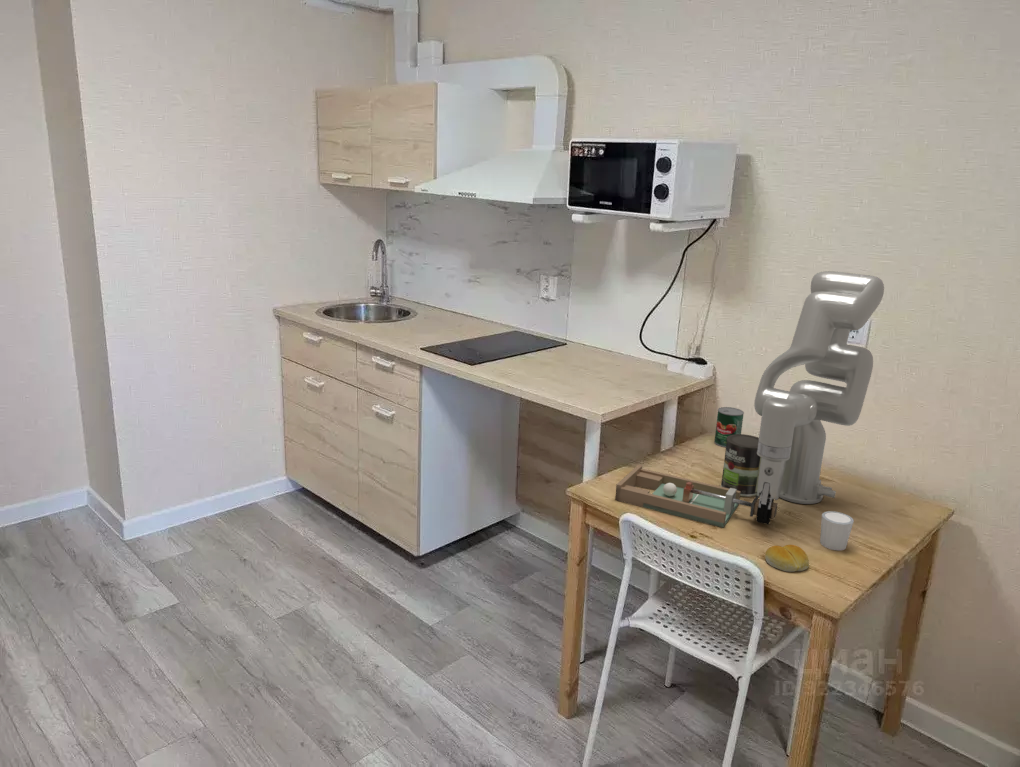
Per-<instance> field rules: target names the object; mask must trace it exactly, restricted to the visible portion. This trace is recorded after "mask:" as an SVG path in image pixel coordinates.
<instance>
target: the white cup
mask: <svg viewBox="0 0 1020 767" xmlns="http://www.w3.org/2000/svg"><path fill="white" fill-rule="evenodd" d="M854 522H855V521H854V518H853V517H852V516H850V515H848V514H845V513H843V512H840V511H835V510H830V511H829V510H828V511H825V512H822V514H821V523H820V539H819V541H820V542H819V543H820V544H821V545H822V547H824V548H826V549H829V550H831V551H844V550H846V549H847V545H848V543H849V542H848V541H849V538H850V535H851V531H852V528H853V525H854Z"/></svg>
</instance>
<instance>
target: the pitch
mask: <svg viewBox="0 0 1020 767" xmlns="http://www.w3.org/2000/svg"><path fill="white" fill-rule="evenodd" d="M687 482H693V483H692V485H694V489H696V490H701V491H705V492H709V493H713V494H718V495H722V496H725V501H724V500H720V499H715V498H711V497H707V496H703V495H699V494H695V493H693V498H692V499H691V500H690V501H689V502H685V501H682V500H683V491H684V488H685V487H686V483H687ZM667 483H673V484H674V485H675V486H676V488H677V492H676V494H675V495H674V496H667V495H665V494H664V492H663V487H664V485H665V484H667ZM643 488H644V489H643ZM650 490H651V491H652V490H653V492H652V493H650ZM740 493H741V491H737V489H734V488H730V489H729V488H724V487H721V485H715V484H710V483H707V482H704V481H703V482H702V481H698V480H694V479H690V478H685V477H680V476H677V475H672V474H667V473H663V472H659V471H654V470H650V469H645V468H643V465H641V464H637V465H636V466H635V467H634V468H633V469H632V470H631V471H629V472H628V473H627V474H626V475H625V476H624V477H623V478H622V479H621V480H620V481H618V482H617V483H616V485H615V496H614V497H615V499H614V501H617V502H621V503H625V504H628V505H632V506H633V505H634V506H636V507H641V508H644V509H648V510H652V511H657V512H660V513H663V514H664V513H665V514H668V515H670V516H671V515H673V516H676V517H680V518H684V519H687V520H691V521H695V522H699V523H703V524H707V525H711V526H715V527H719V528H721V529H722V528H723V529H724V528H725V526H726V525H727V523H728V521H729V520H730V519H731V517H732V515H733V514H734V513H735V511H736V509H737V508H738V506H739V505H740V504H736V503H732V502H733V498H734V499H739V500H741V499H740V498H741V496H740Z"/></svg>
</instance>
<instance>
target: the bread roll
mask: <svg viewBox="0 0 1020 767" xmlns="http://www.w3.org/2000/svg"><path fill="white" fill-rule="evenodd" d="M764 554H765V556H764V558H765V561H766V562H767V564H769V565H770V566H771V567H772V568H775V569H778V570H781V571H783V572H788V573H789V572H790V573H792V572H803V571H805V570H808V568H809V567H810V561H809V556H808V554H807V553H806V551H805V550H804V549H803V548H801V547H800V546H798V545H796V544H791V543H790V544H786V545H783V546H780V545H771V546H769V547H768V548H767V549H766V550H765V553H764Z"/></svg>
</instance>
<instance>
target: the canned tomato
mask: <svg viewBox="0 0 1020 767" xmlns="http://www.w3.org/2000/svg"><path fill="white" fill-rule="evenodd" d="M744 414H745V412H744V411H743V410H742V409H739V408H737V407H730V406H724V407H722V406H720V407H719V408H718V409H717V417H716V426H715V434H714V444H715V445H717V446H719V447H723V448H726V444H727V441H726V439H727V437H728V436H730V435H734V434H742V431H743V423H744V422H743V421H744Z"/></svg>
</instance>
